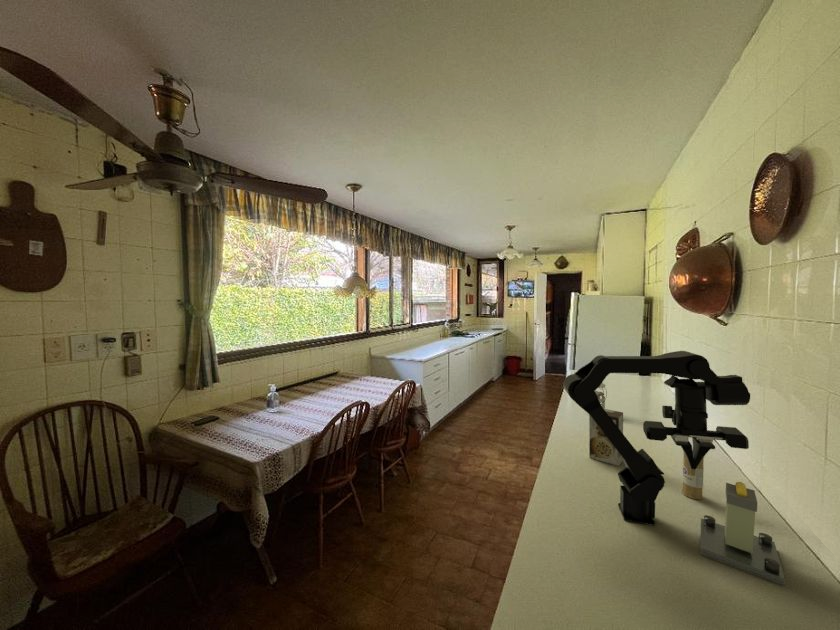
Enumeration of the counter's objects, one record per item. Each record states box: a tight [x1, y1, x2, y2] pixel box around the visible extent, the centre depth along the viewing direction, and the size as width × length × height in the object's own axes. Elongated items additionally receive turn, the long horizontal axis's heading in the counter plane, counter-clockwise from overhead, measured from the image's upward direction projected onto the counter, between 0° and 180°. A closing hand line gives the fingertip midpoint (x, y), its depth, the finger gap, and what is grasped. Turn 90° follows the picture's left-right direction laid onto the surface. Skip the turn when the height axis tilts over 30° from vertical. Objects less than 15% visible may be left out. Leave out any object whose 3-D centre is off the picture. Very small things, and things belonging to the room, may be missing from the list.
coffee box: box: [588, 408, 624, 467], centre depth 111 cm, size 9×6×16 cm
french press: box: [584, 382, 608, 413], centre depth 153 cm, size 10×12×25 cm
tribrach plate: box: [700, 514, 785, 587], centre depth 70 cm, size 12×12×3 cm
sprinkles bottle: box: [681, 444, 706, 500], centre depth 90 cm, size 5×5×14 cm
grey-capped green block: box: [724, 481, 758, 554], centre depth 70 cm, size 4×5×12 cm
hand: (692, 468), depth 79 cm, fingers closed
